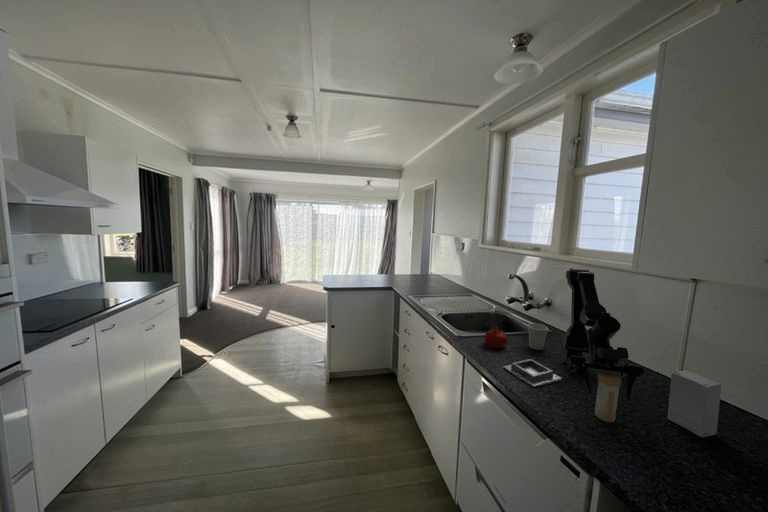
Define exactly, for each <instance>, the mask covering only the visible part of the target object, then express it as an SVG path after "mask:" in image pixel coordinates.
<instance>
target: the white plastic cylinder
mask: <svg viewBox="0 0 768 512" xmlns="http://www.w3.org/2000/svg"><path fill="white" fill-rule="evenodd" d="M597 379H598V383H597V391H596V400H595V409H594V415H595V417H597V419H599V420H601V421H604V422H606V423H614V422H615V421H616V413H617V406H618V401H619V400H618V399H619V393H620V392H619V390H620V386H622V381H621V379H622V378H620V377H619V376H617V375H614V374H612V373H607V372H599V373H598V374H597Z"/></svg>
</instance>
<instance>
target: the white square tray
mask: <svg viewBox="0 0 768 512" xmlns="http://www.w3.org/2000/svg"><path fill="white" fill-rule="evenodd" d="M502 367H503V369H504V368H505V369H506V370H505V369H504V370H505V371H507V370H508V371H509V372H508V371H507V372H508V373H510V372H511V373H512V374H511V373H510V374H511V375H513V374H514V375H515V377H516V376H517V377H516V378H518V379H519V378H520V379H519V380H521V379H522V380H524V381H525V382H527V383H528V384H530V385H532V386H533V387H535V386H539V387H541V385H542V386H546V385H550V384H553V383H557V382H560V381H562V379H563V378H562V377H561V376H559V375H557V374H555V373H554V370H552V369H550V368H549V367H546V366H545V365H542V363H539V362H537V361H535V360H534V359H532V358H530V359H524V360H520V361H516V362H511V364H507V365H503V366H502ZM514 375H513V376H514ZM522 380H521V381H522ZM524 381H523V382H524ZM525 382H524V383H525ZM527 383H526V384H527ZM528 384H527V385H528ZM530 385H529V386H530ZM533 387H532V388H533ZM535 388H536V387H535Z"/></svg>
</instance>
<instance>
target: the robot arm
mask: <svg viewBox="0 0 768 512" xmlns="http://www.w3.org/2000/svg"><path fill="white" fill-rule="evenodd" d="M565 278H566V281H567V285H568V286H569V287H570V289H571V313H570V314H571V319H570V320H571V321H570V322H571V323H570V326H569V327H568V328H567V329H566V333H565V335H564V337H563V338H562V340H561V346H562V348H563V350H565V358H564V359H563V360H562V363H563V364H566V369H568V370H571V372H572V373H574V374H576V376H577V377H578V378H579V379H580V381H581V382H582V384H583V387H584V388H585V389H586V391H587V394H592V386H591V381H590V378H589V373H588V372H589V371H588V369H593V370H600V371H604V372H605V371H606V372H612V373H615V374H616V373H617V374H621V375H620V376H621V377H622V378H620V379H621V386H622V390H623V393H624V398H625V399H626V401H630V399H631V395H632V389H633V386H634V383H635V382H636V381H639V380H641V379H642V378H643V377H646V374H647V373H646V370H645V368H644V367H643V366H641V365H639V364H633V363H625V364H624V365H623V366H621V365H620V366H619V365H617V364H618V363H619V362H622V360H628V359H629V352H628V348H627V347H622V346H621V347H619V346H618V347H616V349H615V348H613V346H612V345H611V341H610V340H612V339H613V338H614V336H615V335H616V334H617V333H618V332H619V331H620V330H621V328H622V327H621V323H620V321H619V320H618V319H617V318H616V317H613V316H611V313H610V312H607V309H606V307H604V306H603V304H601V303H600V300H599V296H598V292H597V288H596V284H595V272H594V271H593V272H592V271H590V270H589V269H587V268H574V267H573V268H572V267H570V268H569V270H568V269H567V270H566V272H565ZM586 327H590V328H588V329H587V328H586ZM584 353H587V354H589V355H590V361H587V360H586V357H585V356H584Z"/></svg>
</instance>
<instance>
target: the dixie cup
mask: <svg viewBox="0 0 768 512" xmlns="http://www.w3.org/2000/svg"><path fill="white" fill-rule="evenodd" d="M527 327H528V346H529V348H530V349H532V350H536V351H542V350H544V347H545V343H546V338H547V334H548V331H549V327H547V326H546V325H544V324H541V323H535V322H534V323H528V324H527Z"/></svg>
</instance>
